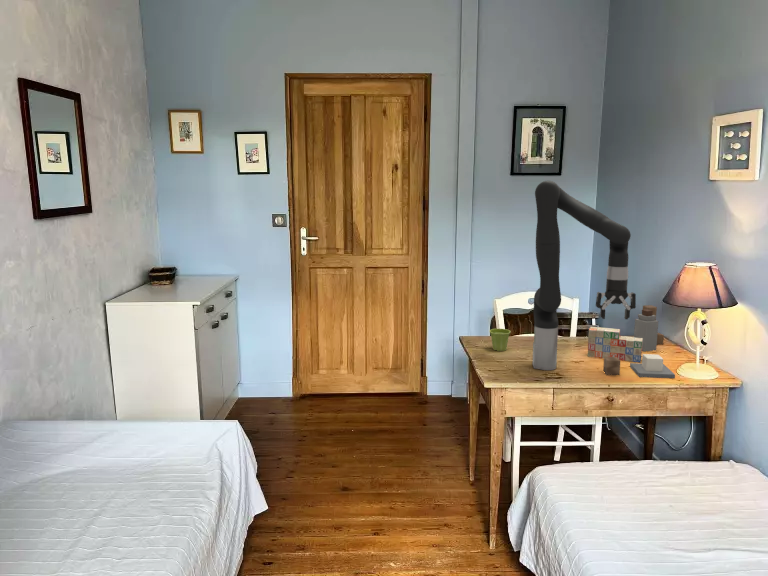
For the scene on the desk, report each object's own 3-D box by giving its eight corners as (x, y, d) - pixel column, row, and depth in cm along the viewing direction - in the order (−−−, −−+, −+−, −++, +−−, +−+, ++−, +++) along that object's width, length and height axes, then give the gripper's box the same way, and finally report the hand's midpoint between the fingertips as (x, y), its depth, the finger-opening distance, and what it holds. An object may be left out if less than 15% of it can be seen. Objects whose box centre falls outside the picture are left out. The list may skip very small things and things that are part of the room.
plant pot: (505, 353, 253) (506, 334, 252) (485, 350, 258) (486, 332, 256) (512, 348, 261) (513, 330, 259) (493, 345, 266) (493, 327, 264)
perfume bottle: (633, 347, 260) (635, 309, 256) (644, 346, 262) (647, 308, 259) (644, 351, 253) (647, 312, 250) (656, 350, 256) (659, 311, 253)
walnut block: (606, 375, 223) (606, 360, 222) (603, 371, 228) (604, 356, 227) (619, 375, 222) (620, 360, 221) (616, 371, 227) (617, 357, 226)
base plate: (639, 377, 220) (640, 360, 219) (629, 366, 233) (630, 351, 232) (674, 378, 218) (676, 362, 217) (663, 367, 231) (664, 352, 230)
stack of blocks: (641, 359, 243) (643, 331, 241) (640, 363, 238) (642, 334, 236) (589, 352, 253) (590, 326, 251) (587, 356, 248) (588, 329, 245)
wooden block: (658, 341, 269) (660, 304, 266) (663, 344, 265) (666, 306, 262) (639, 342, 268) (642, 305, 265) (645, 345, 264) (647, 307, 261)
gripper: (633, 276, 221) (631, 317, 224) (595, 276, 223) (593, 316, 226) (639, 279, 214) (636, 321, 217) (600, 279, 216) (597, 320, 219)
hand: (614, 318), depth 221 cm, fingers open, 8 cm apart
